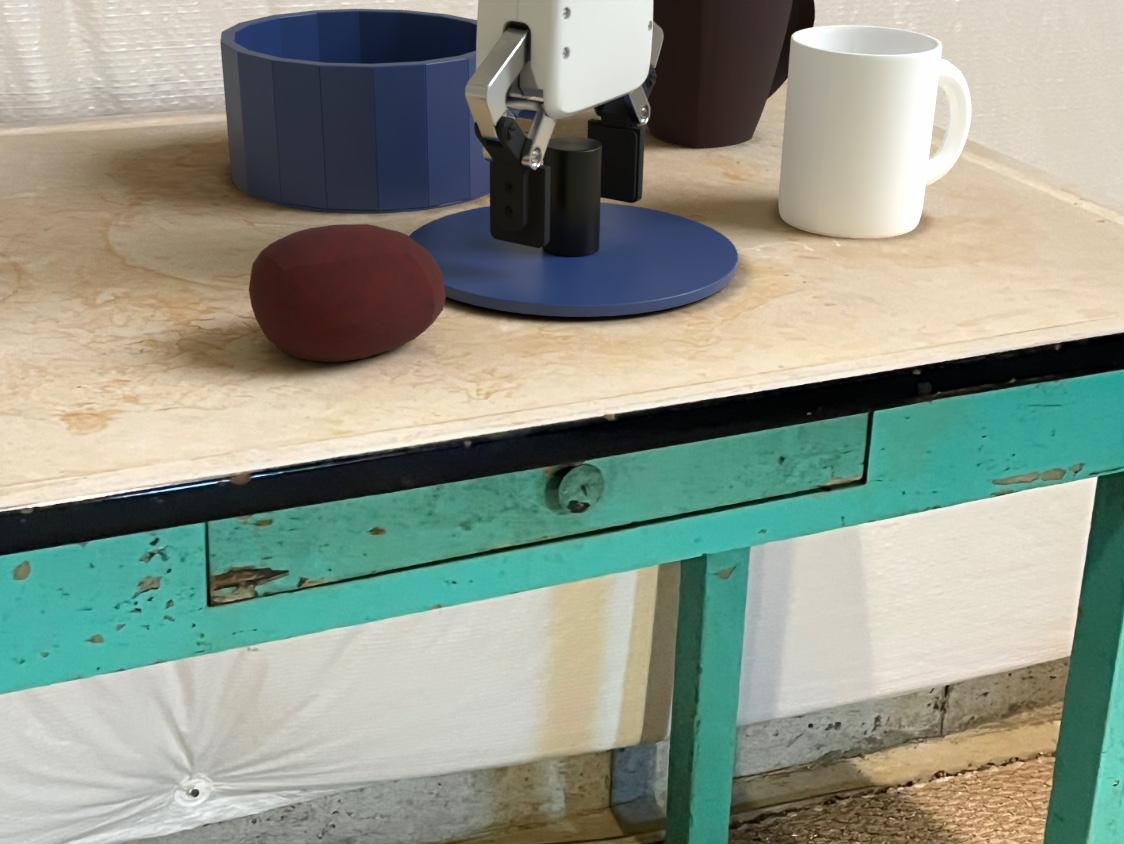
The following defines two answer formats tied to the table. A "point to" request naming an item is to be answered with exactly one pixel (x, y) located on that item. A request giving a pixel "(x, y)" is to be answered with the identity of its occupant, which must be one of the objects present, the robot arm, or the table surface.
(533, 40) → the robot arm
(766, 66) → the mug
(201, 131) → the table surface
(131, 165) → the table surface
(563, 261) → the lid
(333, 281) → the potato
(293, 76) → the pot
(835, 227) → the mug
